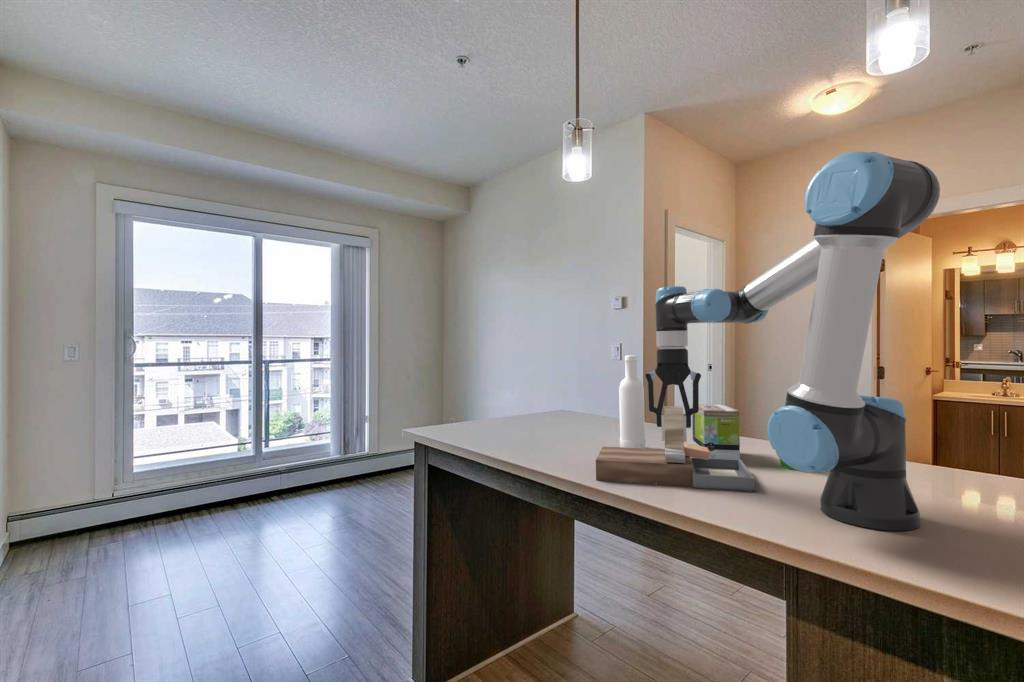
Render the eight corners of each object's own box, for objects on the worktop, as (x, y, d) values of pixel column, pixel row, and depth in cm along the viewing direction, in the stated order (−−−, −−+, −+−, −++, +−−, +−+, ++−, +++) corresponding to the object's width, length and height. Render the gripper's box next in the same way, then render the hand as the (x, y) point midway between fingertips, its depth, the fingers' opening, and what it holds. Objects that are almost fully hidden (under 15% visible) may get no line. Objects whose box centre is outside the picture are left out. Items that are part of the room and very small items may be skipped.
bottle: (627, 445, 157) (625, 355, 157) (649, 448, 152) (647, 355, 152) (615, 449, 151) (613, 355, 151) (638, 452, 146) (636, 355, 146)
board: (692, 486, 110) (692, 465, 110) (596, 480, 117) (595, 459, 117) (688, 469, 126) (687, 450, 126) (603, 464, 132) (602, 446, 132)
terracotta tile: (708, 460, 117) (709, 452, 117) (683, 455, 119) (684, 447, 119) (706, 454, 123) (707, 447, 123) (682, 450, 125) (683, 442, 125)
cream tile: (710, 475, 110) (710, 483, 110) (738, 476, 109) (738, 485, 109) (708, 468, 116) (708, 476, 116) (734, 470, 114) (734, 478, 114)
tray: (755, 491, 106) (754, 478, 106) (693, 487, 109) (692, 474, 109) (741, 471, 123) (741, 459, 123) (688, 468, 127) (687, 457, 127)
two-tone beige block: (685, 462, 111) (684, 411, 111) (665, 461, 112) (664, 411, 112) (681, 448, 126) (681, 403, 126) (664, 447, 127) (663, 403, 127)
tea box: (741, 463, 131) (740, 410, 131) (703, 462, 133) (702, 409, 133) (725, 451, 146) (724, 403, 146) (691, 450, 148) (690, 403, 148)
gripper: (707, 347, 120) (709, 438, 120) (637, 348, 126) (638, 436, 125) (710, 347, 113) (713, 444, 113) (635, 348, 118) (637, 441, 118)
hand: (674, 440), depth 119 cm, fingers closed on two-tone beige block, 4 cm apart
